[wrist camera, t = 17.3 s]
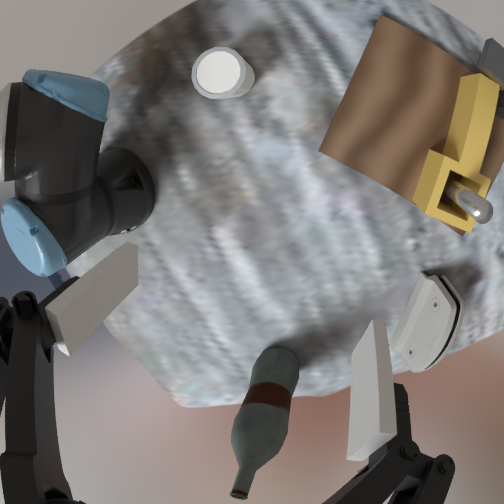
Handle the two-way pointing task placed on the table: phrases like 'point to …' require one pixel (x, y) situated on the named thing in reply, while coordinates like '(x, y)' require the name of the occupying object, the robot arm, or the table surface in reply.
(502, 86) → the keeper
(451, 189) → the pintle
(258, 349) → the table surface
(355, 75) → the board
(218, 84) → the white cylinder
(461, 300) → the white d-shaped block
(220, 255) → the table surface
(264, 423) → the bottle
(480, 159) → the link
